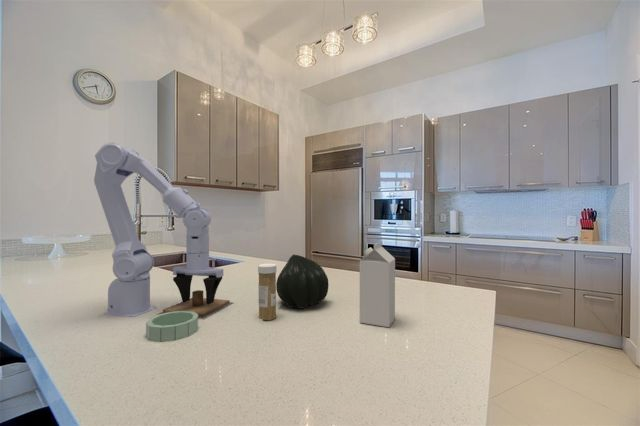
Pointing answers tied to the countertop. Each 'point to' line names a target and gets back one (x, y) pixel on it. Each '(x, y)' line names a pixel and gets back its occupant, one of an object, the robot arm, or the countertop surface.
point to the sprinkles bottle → (267, 291)
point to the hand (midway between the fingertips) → (198, 302)
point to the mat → (211, 313)
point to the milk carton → (377, 287)
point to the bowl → (171, 325)
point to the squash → (302, 282)
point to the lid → (198, 305)
